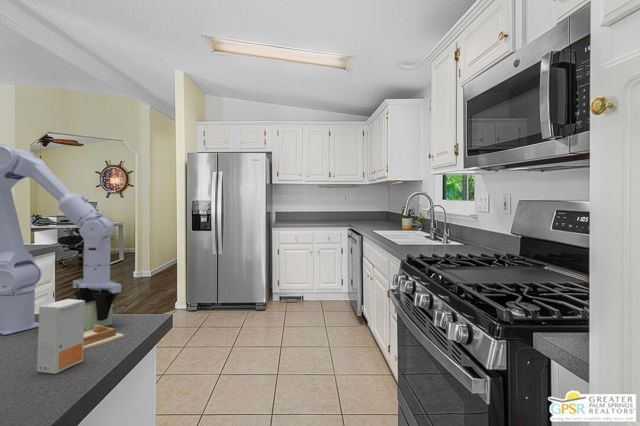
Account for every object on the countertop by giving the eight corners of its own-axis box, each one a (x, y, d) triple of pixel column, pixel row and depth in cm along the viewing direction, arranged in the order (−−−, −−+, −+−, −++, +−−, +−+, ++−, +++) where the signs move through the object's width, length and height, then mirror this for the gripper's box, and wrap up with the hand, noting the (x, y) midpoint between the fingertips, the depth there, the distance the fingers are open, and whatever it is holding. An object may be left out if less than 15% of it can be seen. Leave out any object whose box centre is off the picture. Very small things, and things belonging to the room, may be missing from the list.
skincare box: (56, 375, 64) (57, 307, 64) (36, 372, 65) (37, 306, 65) (84, 361, 70) (85, 299, 70) (66, 359, 71) (67, 298, 71)
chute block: (78, 328, 89) (79, 304, 89) (101, 321, 94) (102, 299, 94) (89, 330, 87) (89, 306, 87) (112, 324, 93) (112, 300, 93)
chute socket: (40, 346, 77) (41, 337, 77) (95, 330, 88) (96, 322, 88) (70, 355, 73) (70, 345, 73) (124, 336, 84) (124, 328, 84)
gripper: (61, 264, 90) (60, 319, 90) (103, 269, 84) (102, 326, 84) (88, 261, 96) (87, 312, 96) (128, 265, 91) (127, 318, 91)
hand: (95, 318), depth 91 cm, fingers closed on chute block, 4 cm apart
